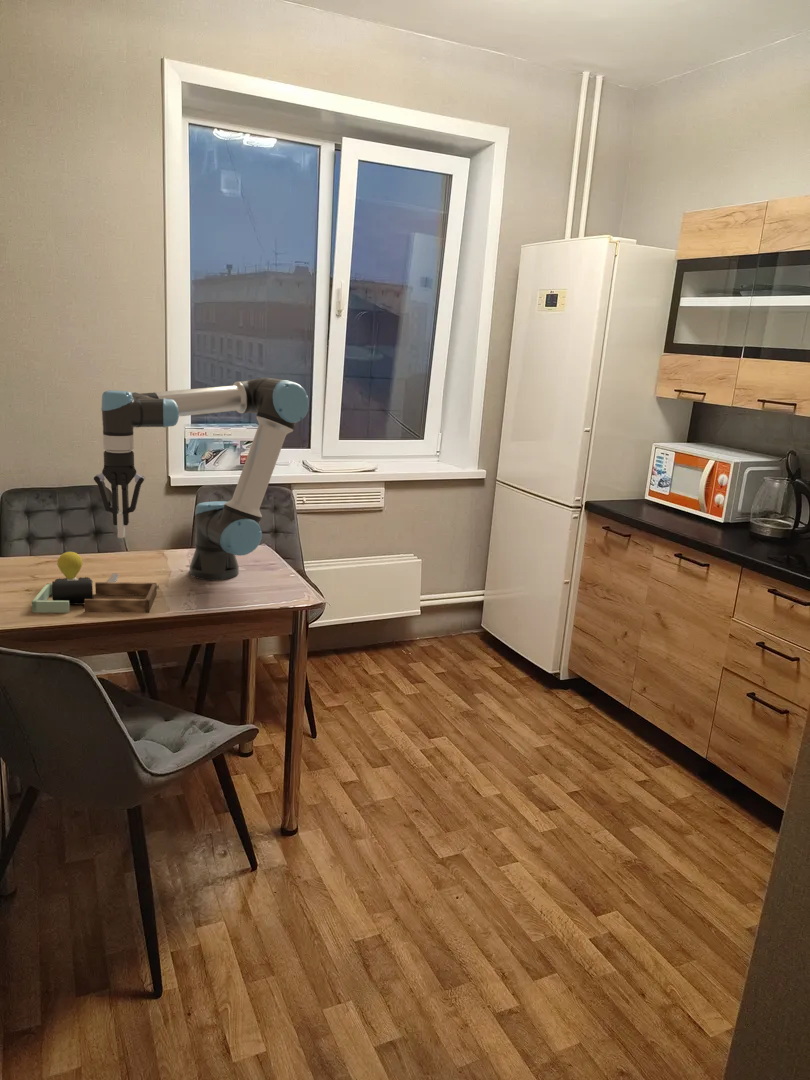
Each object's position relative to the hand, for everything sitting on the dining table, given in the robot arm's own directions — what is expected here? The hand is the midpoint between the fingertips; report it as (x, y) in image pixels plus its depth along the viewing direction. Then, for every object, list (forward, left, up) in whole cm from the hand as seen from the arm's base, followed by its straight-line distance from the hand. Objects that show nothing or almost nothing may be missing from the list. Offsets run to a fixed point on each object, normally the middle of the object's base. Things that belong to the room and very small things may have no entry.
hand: (121, 536), depth 207 cm
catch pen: (+17, 0, -19) cm, 26 cm away
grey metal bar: (+6, -17, -20) cm, 27 cm away
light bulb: (+17, -15, -19) cm, 30 cm away
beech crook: (-3, -10, -19) cm, 22 cm away
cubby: (+1, 0, -19) cm, 19 cm away
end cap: (+13, 0, -20) cm, 23 cm away
